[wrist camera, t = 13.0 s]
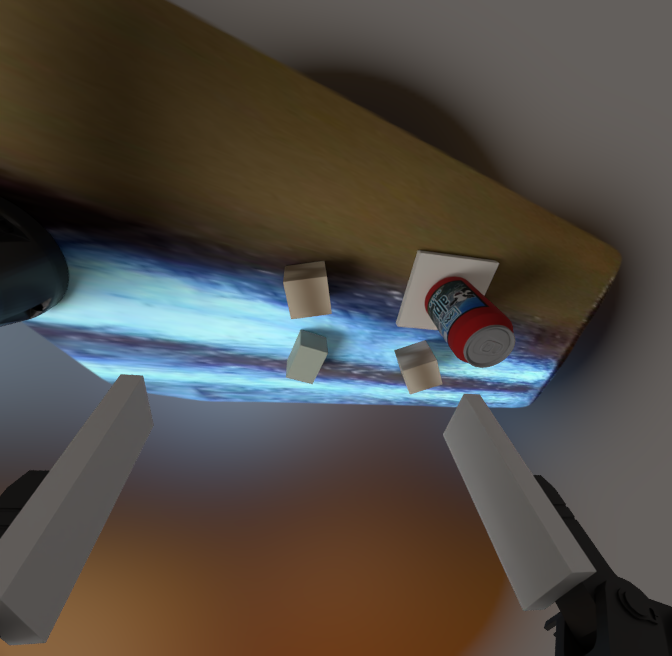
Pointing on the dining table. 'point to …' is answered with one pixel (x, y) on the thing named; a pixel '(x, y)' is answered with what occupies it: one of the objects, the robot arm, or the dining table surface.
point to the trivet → (433, 270)
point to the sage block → (306, 357)
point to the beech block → (307, 290)
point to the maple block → (418, 367)
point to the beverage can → (469, 322)
